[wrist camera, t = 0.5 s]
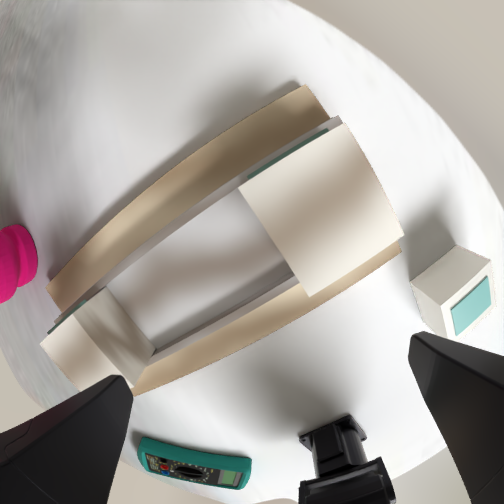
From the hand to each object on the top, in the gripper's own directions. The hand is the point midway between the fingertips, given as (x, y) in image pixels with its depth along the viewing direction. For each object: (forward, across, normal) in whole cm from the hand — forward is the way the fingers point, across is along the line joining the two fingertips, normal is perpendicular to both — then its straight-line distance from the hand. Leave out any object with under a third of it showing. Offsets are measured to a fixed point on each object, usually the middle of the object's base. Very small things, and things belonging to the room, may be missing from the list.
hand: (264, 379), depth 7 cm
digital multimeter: (+14, +13, +26) cm, 33 cm away
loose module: (+13, -16, +6) cm, 21 cm away
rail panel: (+13, +5, 0) cm, 14 cm away
